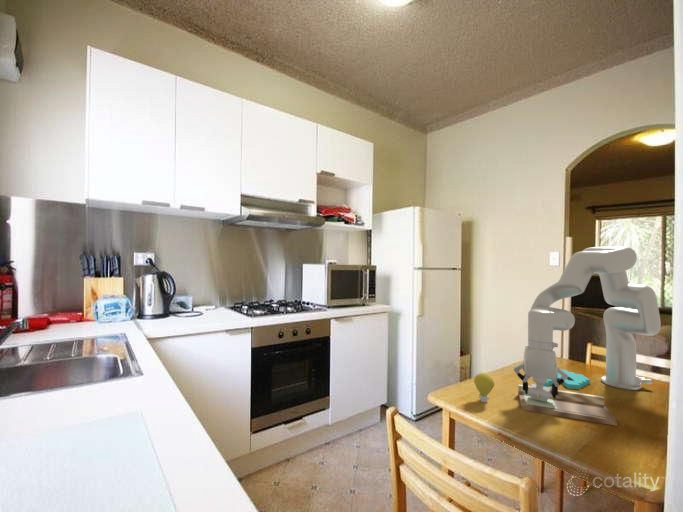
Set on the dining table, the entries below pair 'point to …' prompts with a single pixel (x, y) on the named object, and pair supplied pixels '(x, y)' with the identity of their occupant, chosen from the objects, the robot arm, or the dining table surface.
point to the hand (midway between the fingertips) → (539, 394)
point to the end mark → (539, 402)
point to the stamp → (539, 390)
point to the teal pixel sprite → (571, 380)
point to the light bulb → (484, 385)
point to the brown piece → (573, 406)
